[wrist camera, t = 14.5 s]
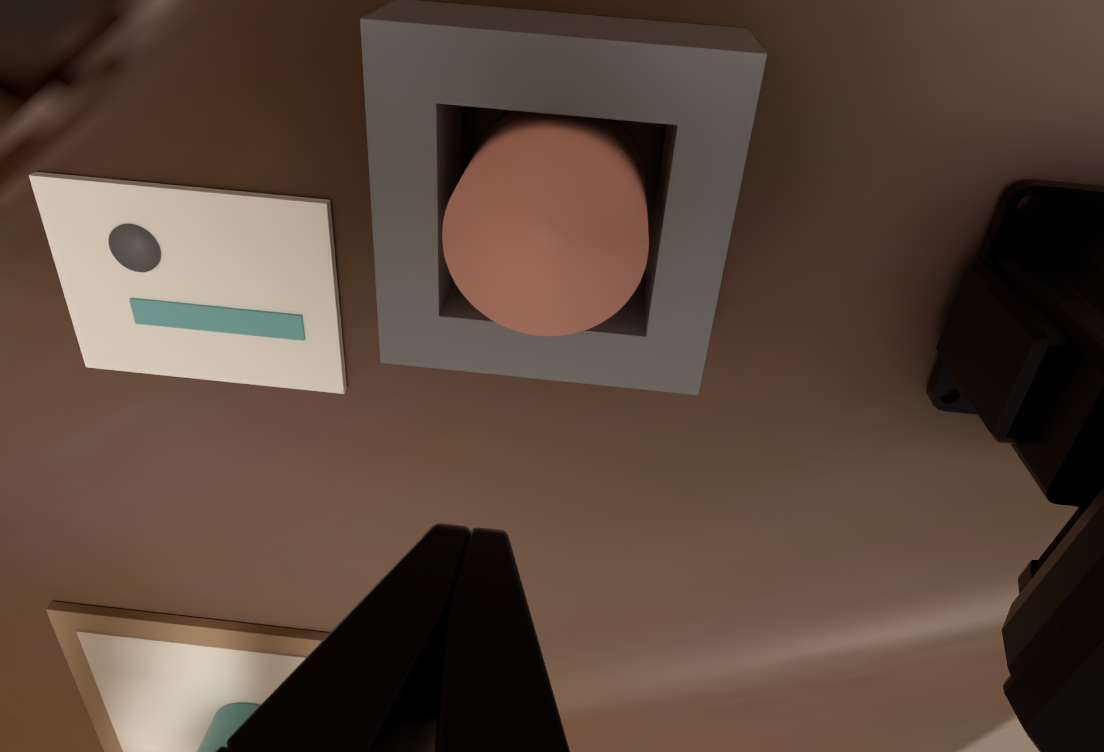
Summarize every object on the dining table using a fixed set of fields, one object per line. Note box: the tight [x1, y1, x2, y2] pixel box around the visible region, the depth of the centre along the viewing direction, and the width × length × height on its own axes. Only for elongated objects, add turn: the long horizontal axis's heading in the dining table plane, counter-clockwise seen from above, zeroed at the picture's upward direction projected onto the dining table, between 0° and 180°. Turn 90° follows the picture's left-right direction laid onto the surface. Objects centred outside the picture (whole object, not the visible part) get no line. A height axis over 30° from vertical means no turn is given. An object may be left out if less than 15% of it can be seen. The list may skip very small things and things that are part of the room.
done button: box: [442, 110, 649, 336], centre depth 18 cm, size 4×4×4 cm
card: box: [29, 172, 347, 394], centre depth 22 cm, size 8×6×1 cm
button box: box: [360, 0, 767, 395], centre depth 19 cm, size 8×8×3 cm
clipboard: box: [46, 601, 329, 752], centre depth 34 cm, size 15×13×1 cm
